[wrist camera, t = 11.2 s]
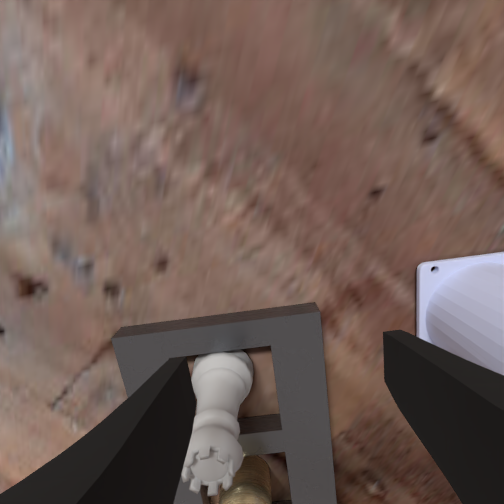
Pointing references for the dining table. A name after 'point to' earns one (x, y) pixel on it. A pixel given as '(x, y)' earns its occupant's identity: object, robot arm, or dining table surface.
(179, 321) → the bolt plate
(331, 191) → the dining table surface
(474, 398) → the robot arm
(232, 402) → the rook chess piece
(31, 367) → the dining table surface
